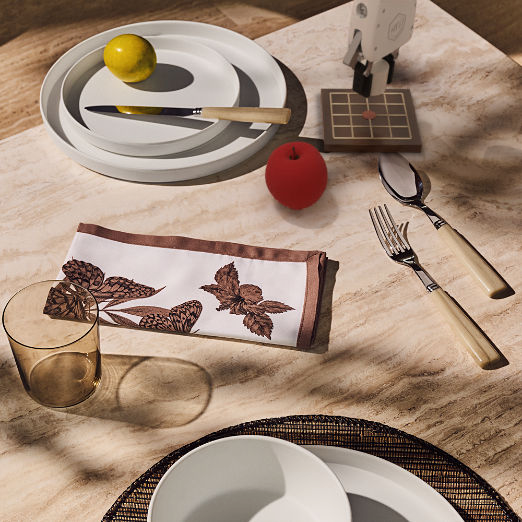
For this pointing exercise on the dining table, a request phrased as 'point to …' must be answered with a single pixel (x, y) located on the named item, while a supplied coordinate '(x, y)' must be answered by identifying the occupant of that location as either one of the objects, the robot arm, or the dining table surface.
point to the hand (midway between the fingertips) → (372, 85)
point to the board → (369, 121)
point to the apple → (296, 175)
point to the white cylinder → (379, 76)
